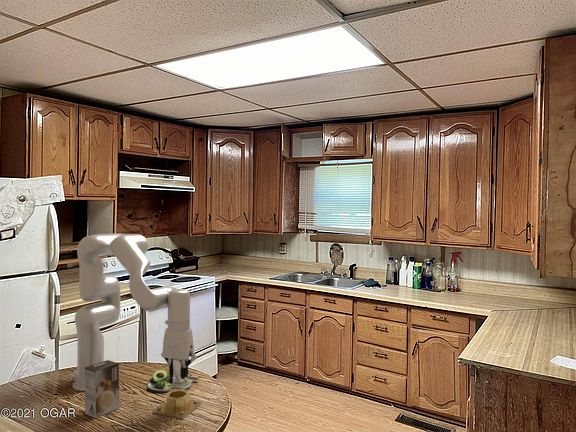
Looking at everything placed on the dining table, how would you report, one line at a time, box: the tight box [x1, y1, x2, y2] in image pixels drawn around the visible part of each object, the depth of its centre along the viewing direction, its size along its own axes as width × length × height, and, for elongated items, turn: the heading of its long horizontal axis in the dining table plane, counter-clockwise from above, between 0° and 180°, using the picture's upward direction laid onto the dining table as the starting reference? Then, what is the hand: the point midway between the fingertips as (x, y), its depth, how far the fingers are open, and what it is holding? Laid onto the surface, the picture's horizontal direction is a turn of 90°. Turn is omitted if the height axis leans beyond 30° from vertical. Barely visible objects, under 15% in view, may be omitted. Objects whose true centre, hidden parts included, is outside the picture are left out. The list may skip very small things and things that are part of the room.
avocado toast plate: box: [146, 368, 200, 394], centre depth 174 cm, size 19×18×5 cm
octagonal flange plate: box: [152, 389, 202, 420], centre depth 153 cm, size 12×12×5 cm
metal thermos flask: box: [172, 359, 185, 390], centre depth 152 cm, size 4×4×12 cm
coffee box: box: [84, 359, 120, 419], centre depth 150 cm, size 9×6×16 cm
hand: (178, 376), depth 152 cm, fingers closed on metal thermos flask, 4 cm apart
